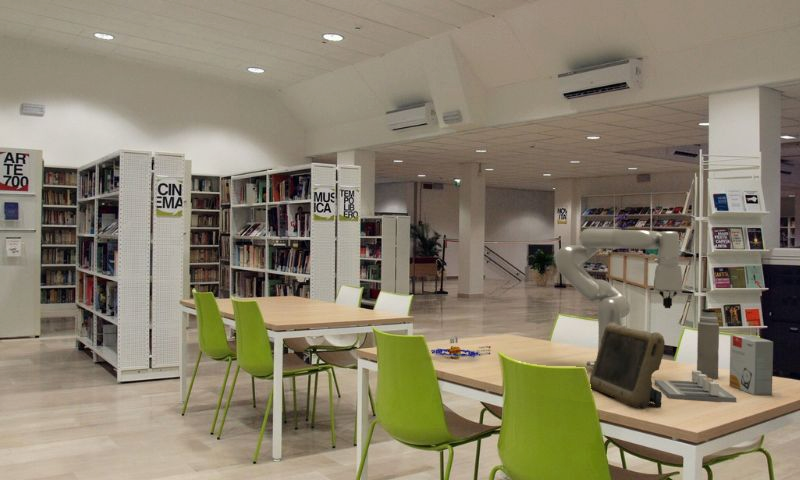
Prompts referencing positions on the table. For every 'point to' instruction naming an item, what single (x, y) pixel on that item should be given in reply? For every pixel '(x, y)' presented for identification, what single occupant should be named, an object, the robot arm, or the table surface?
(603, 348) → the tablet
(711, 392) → the breaker
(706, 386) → the block
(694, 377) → the breaker
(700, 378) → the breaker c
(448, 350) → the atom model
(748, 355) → the hard drive box
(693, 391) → the panel
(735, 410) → the table surface
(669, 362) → the table surface
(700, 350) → the thermos bottle
